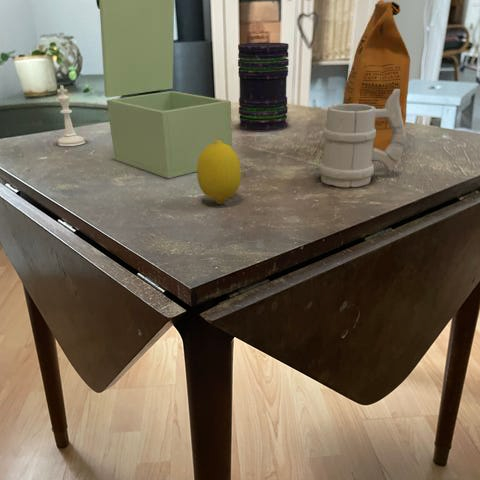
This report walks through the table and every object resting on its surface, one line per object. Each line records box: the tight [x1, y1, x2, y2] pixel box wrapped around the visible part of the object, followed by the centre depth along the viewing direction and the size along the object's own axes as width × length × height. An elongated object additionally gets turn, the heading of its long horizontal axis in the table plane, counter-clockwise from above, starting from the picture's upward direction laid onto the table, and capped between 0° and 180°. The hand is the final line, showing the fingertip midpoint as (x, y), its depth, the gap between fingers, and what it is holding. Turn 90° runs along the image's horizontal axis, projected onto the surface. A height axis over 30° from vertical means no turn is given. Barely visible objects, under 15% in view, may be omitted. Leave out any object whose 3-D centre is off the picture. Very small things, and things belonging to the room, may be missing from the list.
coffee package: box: [342, 0, 411, 151], centre depth 86 cm, size 10×12×22 cm
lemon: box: [196, 140, 242, 205], centre depth 68 cm, size 6×6×8 cm
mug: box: [318, 89, 407, 188], centre depth 75 cm, size 8×12×12 cm, turn 95°
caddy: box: [106, 90, 233, 179], centre depth 86 cm, size 16×13×9 cm
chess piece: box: [56, 84, 86, 147], centre depth 98 cm, size 5×5×10 cm
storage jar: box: [237, 42, 290, 132], centre depth 107 cm, size 10×10×15 cm
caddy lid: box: [99, 0, 175, 99], centre depth 85 cm, size 16×13×5 cm
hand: (123, 11), depth 84 cm, fingers open, 5 cm apart
